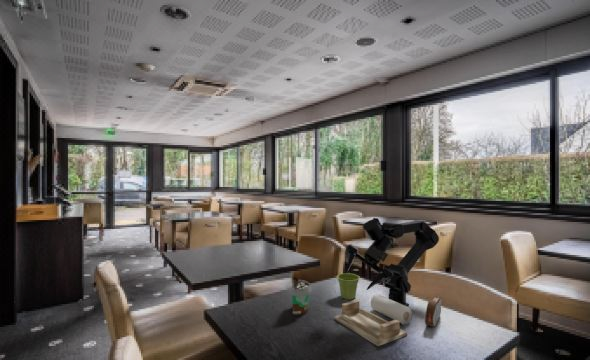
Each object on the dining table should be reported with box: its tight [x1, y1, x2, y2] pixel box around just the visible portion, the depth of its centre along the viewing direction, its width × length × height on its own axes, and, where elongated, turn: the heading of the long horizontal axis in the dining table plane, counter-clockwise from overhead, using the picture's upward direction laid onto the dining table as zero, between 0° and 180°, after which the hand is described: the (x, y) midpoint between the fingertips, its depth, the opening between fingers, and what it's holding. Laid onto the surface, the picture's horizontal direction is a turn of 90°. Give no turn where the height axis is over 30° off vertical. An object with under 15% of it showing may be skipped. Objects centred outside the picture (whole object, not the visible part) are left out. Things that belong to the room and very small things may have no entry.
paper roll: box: [370, 293, 413, 325], centre depth 114 cm, size 14×6×6 cm, turn 31°
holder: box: [334, 299, 408, 347], centre depth 106 cm, size 13×21×5 cm, turn 31°
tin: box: [424, 294, 443, 328], centre depth 110 cm, size 15×3×8 cm, turn 145°
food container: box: [291, 279, 312, 317], centre depth 118 cm, size 12×6×10 cm, turn 168°
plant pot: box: [336, 272, 361, 301], centre depth 133 cm, size 9×9×9 cm
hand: (355, 281), depth 112 cm, fingers open, 9 cm apart
